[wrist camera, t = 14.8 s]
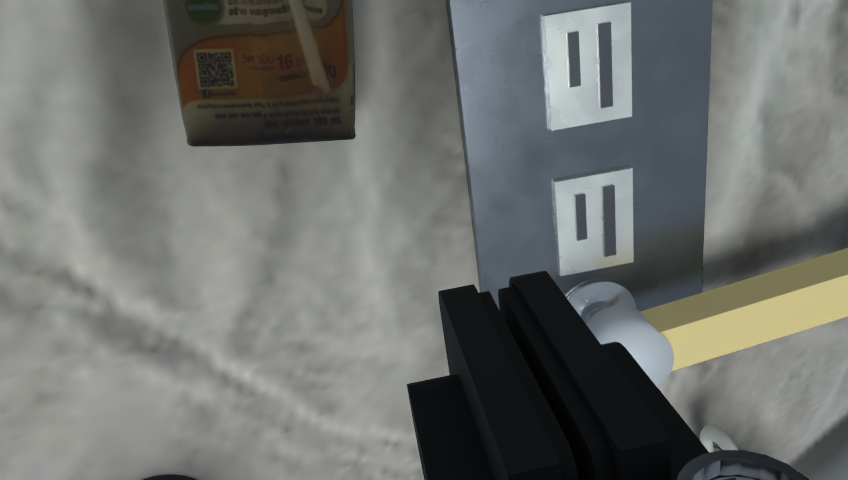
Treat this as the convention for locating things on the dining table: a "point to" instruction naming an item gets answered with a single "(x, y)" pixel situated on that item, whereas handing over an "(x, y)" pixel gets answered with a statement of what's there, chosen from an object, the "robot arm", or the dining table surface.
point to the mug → (716, 439)
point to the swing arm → (728, 316)
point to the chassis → (586, 144)
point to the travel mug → (169, 478)
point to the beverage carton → (263, 70)
